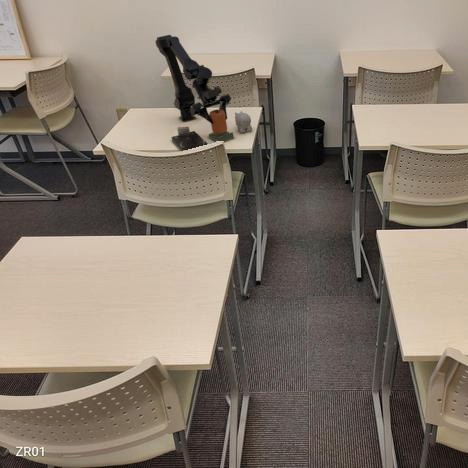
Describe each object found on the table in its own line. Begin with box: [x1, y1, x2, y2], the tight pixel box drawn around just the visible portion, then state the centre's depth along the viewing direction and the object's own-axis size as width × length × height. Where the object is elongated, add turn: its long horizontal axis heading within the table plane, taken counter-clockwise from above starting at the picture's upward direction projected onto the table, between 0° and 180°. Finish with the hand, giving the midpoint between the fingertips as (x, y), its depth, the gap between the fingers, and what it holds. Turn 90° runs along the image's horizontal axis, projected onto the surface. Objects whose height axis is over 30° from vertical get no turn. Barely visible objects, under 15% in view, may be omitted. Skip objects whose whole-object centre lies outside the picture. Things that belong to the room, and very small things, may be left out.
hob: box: [171, 130, 209, 152], centre depth 215 cm, size 20×11×2 cm, turn 32°
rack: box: [207, 130, 235, 143], centre depth 219 cm, size 9×8×3 cm
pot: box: [208, 108, 228, 133], centre depth 215 cm, size 7×7×9 cm
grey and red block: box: [176, 126, 191, 136], centre depth 218 cm, size 5×2×4 cm, turn 86°
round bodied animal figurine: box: [234, 111, 253, 134], centre depth 225 cm, size 7×12×8 cm, turn 25°
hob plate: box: [180, 137, 206, 149], centre depth 212 cm, size 11×11×1 cm
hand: (219, 121), depth 214 cm, fingers closed on pot, 7 cm apart
